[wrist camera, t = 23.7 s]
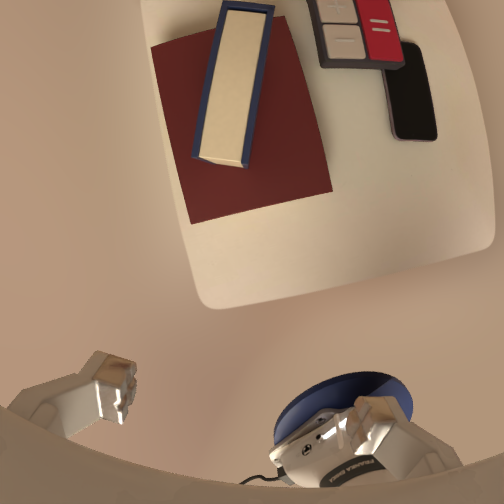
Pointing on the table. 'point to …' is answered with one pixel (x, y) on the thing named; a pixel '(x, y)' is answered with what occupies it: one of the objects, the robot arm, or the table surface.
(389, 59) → the calculator
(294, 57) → the encyclopedia
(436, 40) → the table surface
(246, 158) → the hardcover book
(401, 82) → the smartphone
